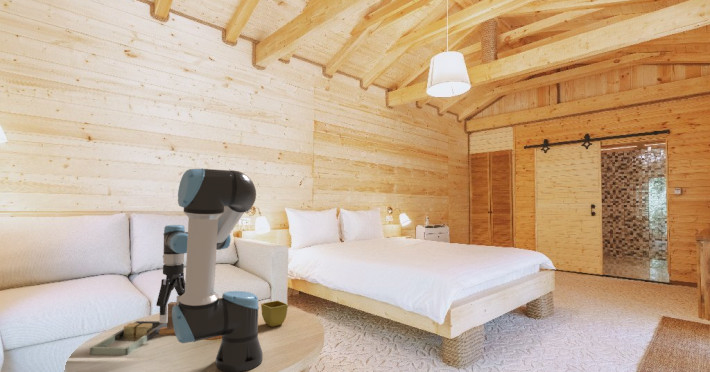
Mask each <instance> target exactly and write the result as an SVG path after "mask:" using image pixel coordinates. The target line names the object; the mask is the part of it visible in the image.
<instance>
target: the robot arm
mask: <svg viewBox="0 0 710 372" xmlns="http://www.w3.org/2000/svg"><path fill="white" fill-rule="evenodd" d="M177 197H178V198H177V202H178V206H179V207H181V208H183V213H184V214H185V215H186V216H187V217H188V222H187V223H188V224H187V231H186V230H185V226H184V225H183V224H170V225H168V224H167V225H165V226H164V228H163V255H162V259H163V265H162V274H163V275H165V276H166V277H165V278H162V279H161V281H160V282H161V283H160V288H159V293H158V296H157V301H156V306H157V307H159V320H158V321H159V323H167V321H168V303H169V299H170V296H171V294H172V291H173V290H174V289H175V292H176V294H177V295H176V302H177V305H175V306H173V308H172V320H173V326H174V331H175V334H176V335H175V337H176V339H177V341H178V342H179V343H181V344H187V343H195V342H199V341H204V340H207V339H213V338H216V337H221V342H220V345H219V348H218V351H217V354H216V357H215V367H216V368H217V370H220V371H223V372H245V371H249V370H252V369H254V368H256V367H258V366H259V365H261V363H262V362H263V358H264V357H263V356H264V355H263V350H262V347H261V344H260V343H261V342H260V340H259V336H258V335H259V334H258V333H259V331H258V330H259V328H258V327H259V308H260V307H259V298H258V296H257V295H256V294H255V293H253V292H249V291H241V290H231V291H225V292H223V293H222V296H221V298H219V294H218V293H217V292H215V281H216V279H215V277H216V264H217V263H216V262H217V261H216V259H217V250H218V251H219V250H224V249H225V250H226V249H228V248H229V247H230V246H231V245H230V243H231V235H230V234H231V233H232V231H233V230H234V228H235V227H236V225H237V224H238V222H239V221H240V220H241V219H242V217H243V215H244V214H245V213H246V212H248V211H250V210H251V209H252V207H253V205H254V204H255V201H256V199H257V189H256V186H255V184H254V182H253V181H252V179H251V178H250V177H249V176H248V175H246V174H245V173H244V172H241V171H239V170H228V169H213V168H212V169H210V168H209V169H208V168H189V169H187V170H186V171H184V173H183V175H182V176H181V178H180V181H179V186H178V190H177ZM185 254H186V261H185ZM184 262H185V264H184ZM184 266H185V267H184ZM184 269H185V270H184ZM184 271H185V272H184ZM184 274H185V275H184Z"/></svg>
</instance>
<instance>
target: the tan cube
mask: <svg viewBox="0 0 710 372" xmlns="http://www.w3.org/2000/svg"><path fill="white" fill-rule="evenodd" d="M139 325H140V323H135V322H130V323H128V324H126V325H124V326H123V329H124V332H123V337H135V336H136V330H137V326H139Z"/></svg>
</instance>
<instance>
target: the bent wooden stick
mask: <svg viewBox="0 0 710 372" xmlns="http://www.w3.org/2000/svg"><path fill="white" fill-rule="evenodd" d="M167 305H168V321H167V327H162V328H161V329H159V333H158V334H159V335H175V336H176V334H175V331H174V326H173V320H172V308H173V306H175V305H177V301H174V302H173V301H170V302H168V303H167Z"/></svg>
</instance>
